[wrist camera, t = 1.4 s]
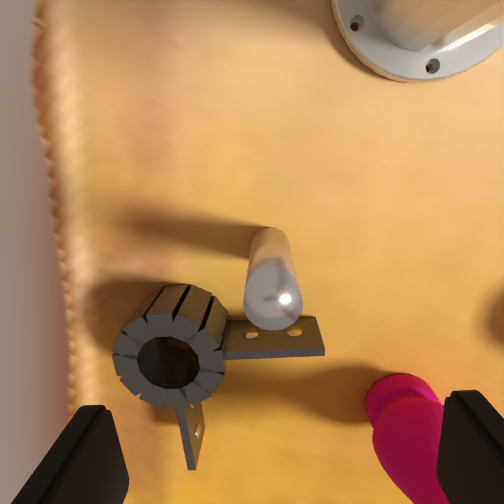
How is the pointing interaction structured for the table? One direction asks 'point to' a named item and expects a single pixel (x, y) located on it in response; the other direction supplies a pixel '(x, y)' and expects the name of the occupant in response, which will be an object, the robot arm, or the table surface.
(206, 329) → the hinge
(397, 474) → the pepper mill
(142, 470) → the table surface
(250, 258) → the hinge pin
